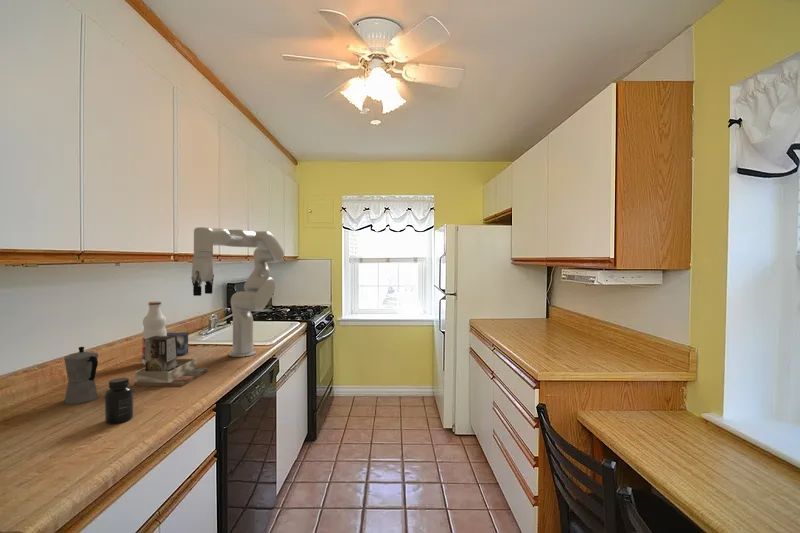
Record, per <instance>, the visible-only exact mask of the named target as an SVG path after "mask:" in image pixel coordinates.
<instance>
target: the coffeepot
mask: <svg viewBox="0 0 800 533" xmlns="http://www.w3.org/2000/svg"><path fill="white" fill-rule="evenodd" d="M98 357H99V354H98V352H94V351H93V352H92V351H85V346H79V347H78V352H76V353H70V354H69V353H68V355H66V356H63V359H64V364H65V368H66V370H65V371H66V374H67V378H68V379H67V380H68V382H67V385H66V391H65V395H64V404H65V405H79V404H80V403H81V404H85V402H86V403H89V401H90V402H92V401H95V400H97V399H98V398H99V395H98V390H97V386H96V381H95V376H96V374H97V368H98V364H99V360H98ZM94 399H95V400H94ZM81 404H80V405H81Z"/></svg>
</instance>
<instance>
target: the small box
mask: <svg viewBox="0 0 800 533" xmlns="http://www.w3.org/2000/svg"><path fill="white" fill-rule="evenodd" d="M167 336H177V357H178V356H186V355H187V354H189V332H186V331H185V332H167Z"/></svg>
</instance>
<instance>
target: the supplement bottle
mask: <svg viewBox="0 0 800 533" xmlns="http://www.w3.org/2000/svg"><path fill="white" fill-rule="evenodd" d="M129 385H130V380H129V377H117V378H114V379H111V380H109V382H108V389H107V391H106V392H105V393H104V416H105V418H104V420H105V423H107V424H109V425H115V424H116V425H117V424H121V423H124V422H127V421H130V420H131V419H132V418H133V417H134V389H133V388H132V386H129Z"/></svg>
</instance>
